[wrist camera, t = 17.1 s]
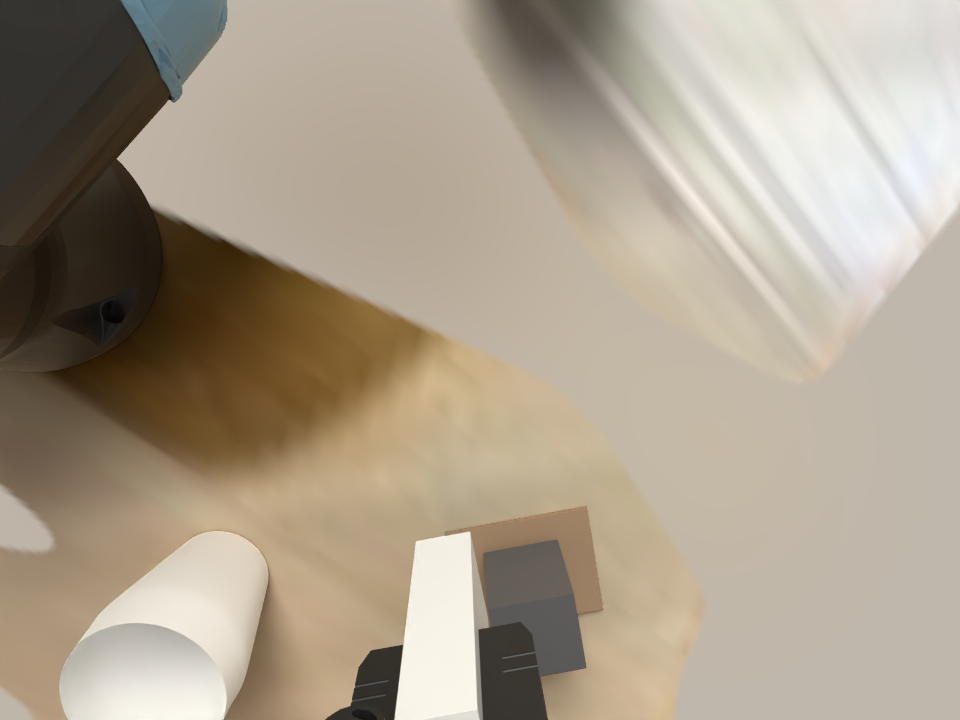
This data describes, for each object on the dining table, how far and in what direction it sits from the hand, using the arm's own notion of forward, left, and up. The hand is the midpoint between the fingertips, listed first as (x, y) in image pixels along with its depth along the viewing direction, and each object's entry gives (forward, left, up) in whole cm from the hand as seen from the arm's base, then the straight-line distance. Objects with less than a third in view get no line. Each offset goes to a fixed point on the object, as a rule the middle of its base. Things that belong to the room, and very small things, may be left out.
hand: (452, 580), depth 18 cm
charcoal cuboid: (+2, -16, -25) cm, 30 cm away
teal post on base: (+2, -16, -26) cm, 31 cm away
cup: (-19, -12, -27) cm, 35 cm away
